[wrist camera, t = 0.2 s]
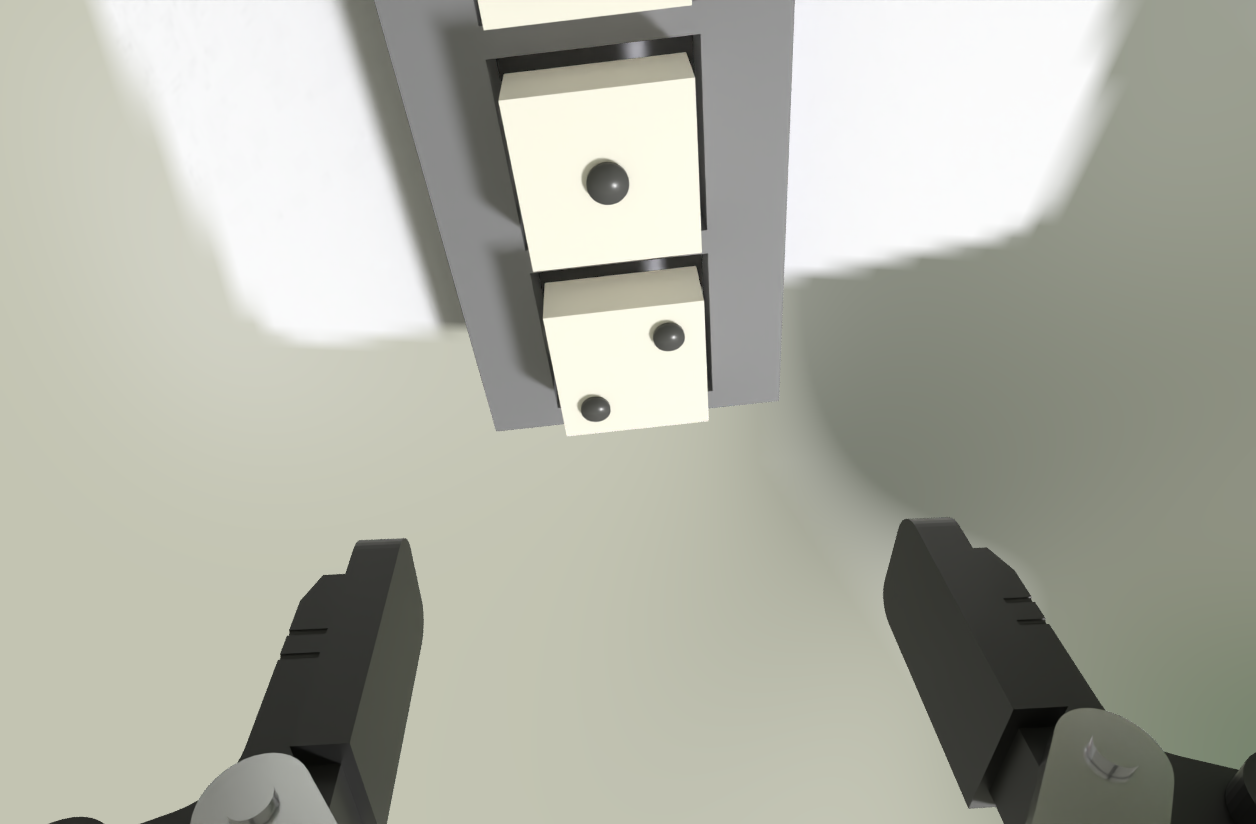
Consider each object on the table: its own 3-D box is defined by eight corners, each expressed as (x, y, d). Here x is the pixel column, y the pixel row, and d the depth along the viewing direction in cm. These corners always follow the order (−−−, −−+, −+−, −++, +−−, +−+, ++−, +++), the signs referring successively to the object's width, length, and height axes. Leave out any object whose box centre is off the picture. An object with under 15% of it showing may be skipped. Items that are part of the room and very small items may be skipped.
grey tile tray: (788, -363, 21) (809, -372, 19) (768, 367, 37) (778, 400, 36) (312, -300, 21) (287, -304, 19) (500, 396, 38) (496, 431, 36)
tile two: (696, 265, 31) (704, 303, 29) (701, 383, 35) (709, 424, 33) (544, 282, 31) (542, 321, 29) (567, 398, 35) (566, 439, 33)
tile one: (685, 52, 25) (695, 79, 23) (693, 219, 29) (702, 255, 27) (503, 73, 26) (498, 103, 24) (535, 237, 30) (532, 274, 27)
